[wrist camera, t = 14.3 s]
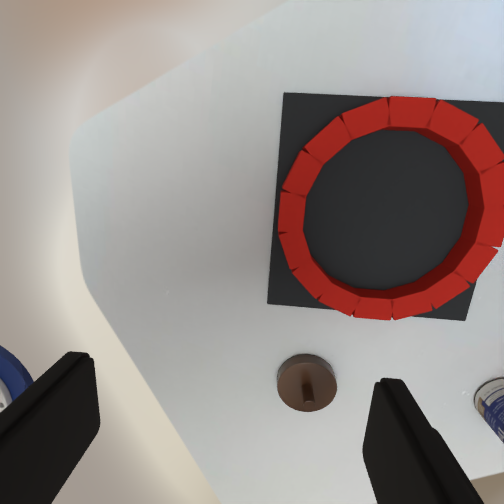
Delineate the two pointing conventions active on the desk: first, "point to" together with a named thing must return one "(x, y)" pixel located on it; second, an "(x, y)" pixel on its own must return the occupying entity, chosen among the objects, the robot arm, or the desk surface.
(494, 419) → the pill bottle
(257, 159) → the desk surface
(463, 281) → the ring
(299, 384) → the ring holder
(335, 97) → the mat
